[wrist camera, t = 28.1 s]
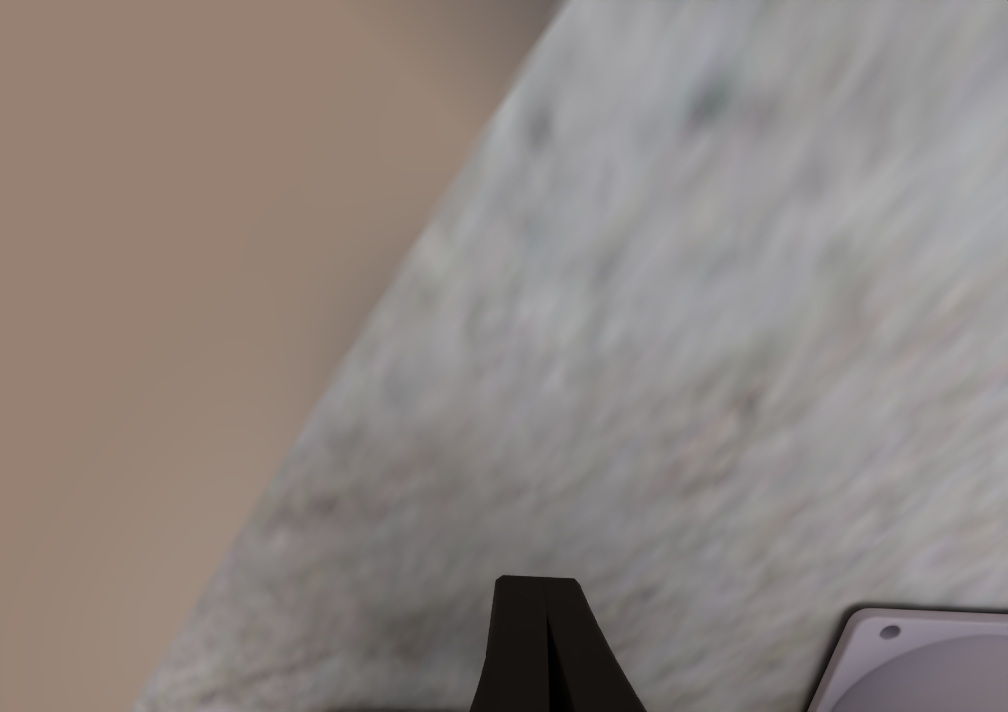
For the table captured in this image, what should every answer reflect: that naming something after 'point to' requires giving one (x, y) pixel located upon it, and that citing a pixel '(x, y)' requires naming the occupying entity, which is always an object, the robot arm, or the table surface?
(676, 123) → the table surface
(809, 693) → the table surface
